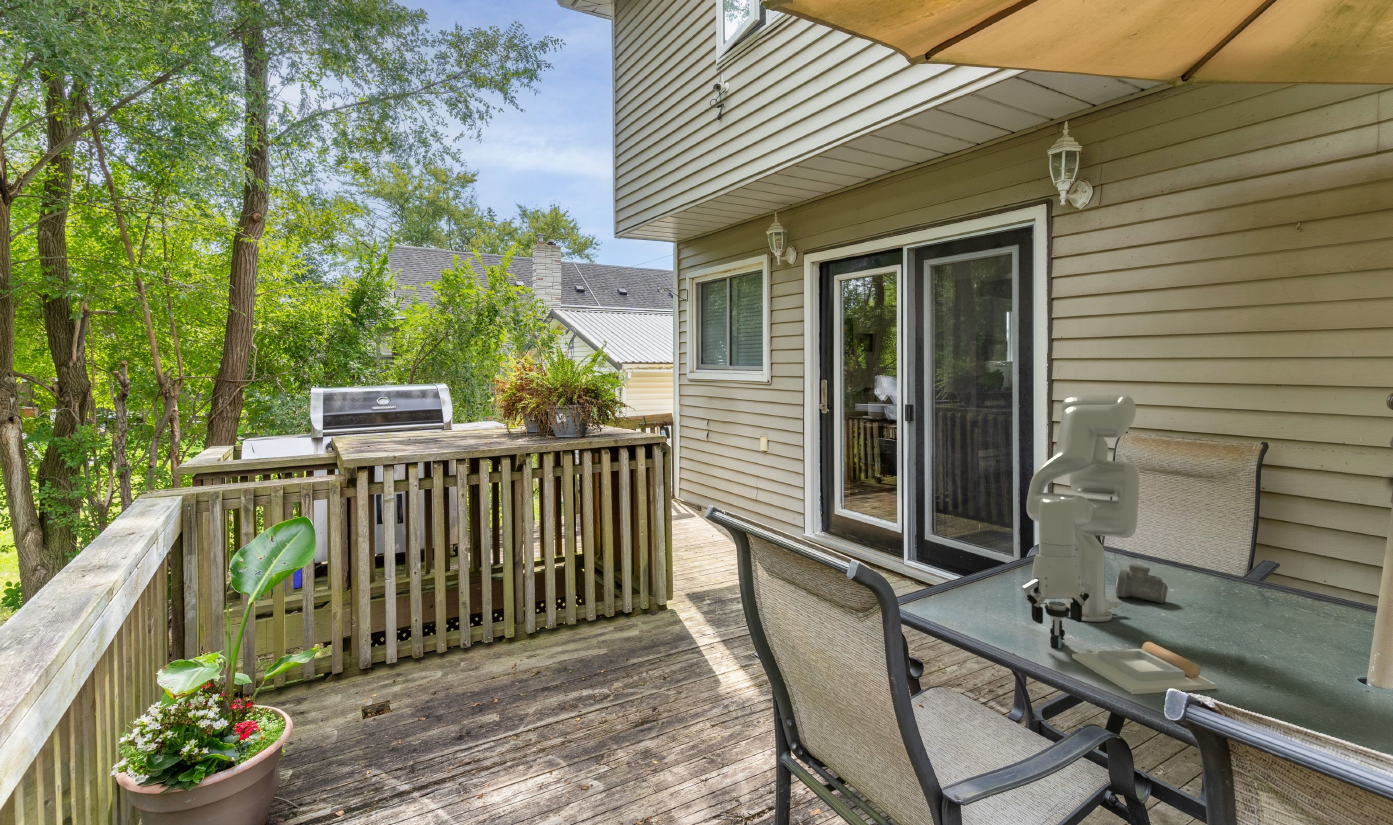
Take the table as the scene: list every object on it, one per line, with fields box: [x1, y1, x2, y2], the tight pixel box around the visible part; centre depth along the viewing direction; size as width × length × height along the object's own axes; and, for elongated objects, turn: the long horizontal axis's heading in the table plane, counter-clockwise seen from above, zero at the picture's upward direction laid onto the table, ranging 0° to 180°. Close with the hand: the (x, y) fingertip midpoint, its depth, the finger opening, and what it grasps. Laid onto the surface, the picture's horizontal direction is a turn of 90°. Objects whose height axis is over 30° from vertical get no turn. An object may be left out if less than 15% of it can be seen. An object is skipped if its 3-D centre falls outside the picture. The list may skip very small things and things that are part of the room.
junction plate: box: [1071, 641, 1217, 695], centre depth 138 cm, size 18×18×4 cm
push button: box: [1044, 600, 1070, 649], centre depth 154 cm, size 7×5×10 cm
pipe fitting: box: [1115, 562, 1169, 604], centre depth 185 cm, size 12×8×10 cm
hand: (1056, 621), depth 154 cm, fingers open, 9 cm apart
